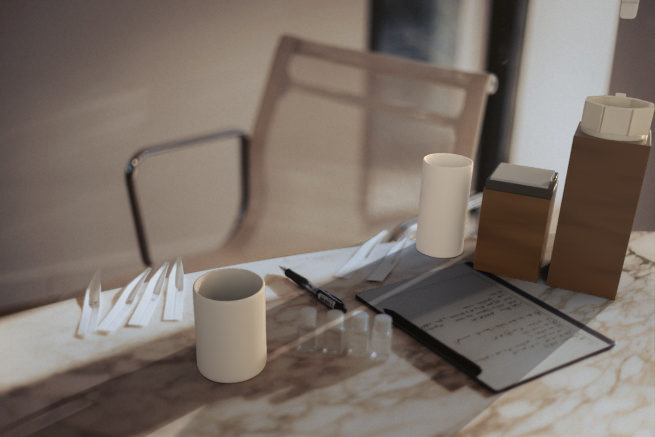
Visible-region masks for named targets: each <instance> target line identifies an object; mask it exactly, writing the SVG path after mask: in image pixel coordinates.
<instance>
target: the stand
mask: <svg viewBox="0 0 655 437" xmlns="http://www.w3.org/2000/svg"><path fill="white" fill-rule="evenodd" d="M580 125H581V120H579V122H578V124H577V126H576V130H575V131H574V134H573V136H572V143H571V147H570V152H569V158H568V164H567V169H566V170H567V171H566V175H565V180H564V186H563V191H562V196H561V201H560V207H559V212H558V213H559V214H558V218H557V223H556V229H555V234H554V239H553V245H552V251H551V255H550V261H549V266H548V271H547V276H546V277H547V279H546V283H545V285H546V286H548V287H553V288H558V289H563V290H567V291H572V292H575V293H581V294H585V295H589V296H594V297H598V298H603V299H607V300H612V301H616V297H617V294H618V289H619V285H620V281H621V277H622V272H623V268H624V264H625V259H626V255H627V252H628V247H629V244H630V238H631V234H632V231H633V226H634V222H635V217H636V214H637V209H638V204H639V201H640V196H641V192H642V187H643V184H644V180H645V175H646V171H647V168H648V167H647V166H648V163H649V159H650V154H651V150H652V130H651V129H650V131H649V134H648V136H647V138H646V139H644V140H640V141H616V140H608V139H602V138H598V137H594V136H590V135H588V134H585V133H583V132H582V131H581V130H580V128H581V126H580ZM558 186H559V180H557V182H556V185H555V187H554V189H553V192H552V194H551V197H550V199H545V198H539V197H533V196H527V195H521V194H515V193H510V192H504V191H498V190H492V189H486V188H485V187H483V190H482V198H481V203H480V204H481V206H480V212H479V220H478V226H477V227H478V228H477V235H476V243H475V251H474V258H473V266H472V270H475V271H481V272H485V273H489V274H493V275H494V274H495V275H499V276H503V277H508V278H512V279H516V280H521V281H525V282H531V283H537V281H538V278H539V276H540V273H541V269H542V267H543V263H544V261H545V259H546V258H545V257H546V252H547V246H548V241H549V236H550V230H551V224H552V220H553V214H554V209H555V208H554V207H555V202H556V196H557V192H558Z"/></svg>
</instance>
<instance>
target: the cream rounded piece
mask: <svg viewBox="0 0 655 437" xmlns="http://www.w3.org/2000/svg"><path fill="white" fill-rule="evenodd" d="M654 113H655V103H654V102H651V101H647V100H645V99H644V100H643V99H640V98H636V97H631V96H627V93H623V92H615V95H610V94H605V95H601V94H600V95H588V96H586V98H585V100H584V104H583V109H582V114H581V120H580V121H581V125H580V126H581V128H580V130H581V131H582V132H583V133H585V134H588V135H590V136H594V137H598V138H602V139H608V140H616V141H640V140H644V139H646V138H647V136H648V134H649V131H650V130H651V126H652V122H653V117H654Z"/></svg>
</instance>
